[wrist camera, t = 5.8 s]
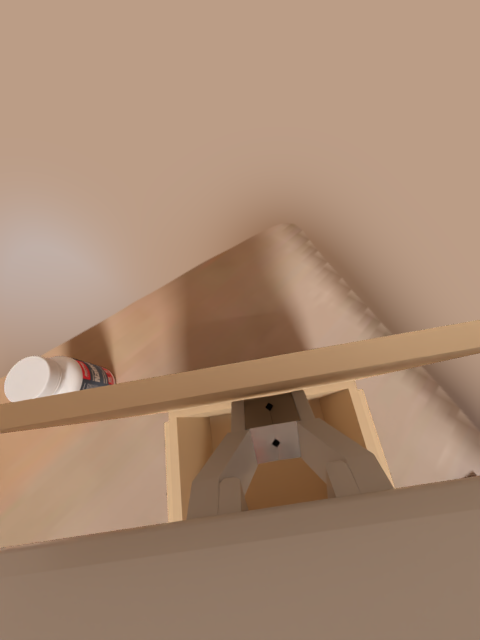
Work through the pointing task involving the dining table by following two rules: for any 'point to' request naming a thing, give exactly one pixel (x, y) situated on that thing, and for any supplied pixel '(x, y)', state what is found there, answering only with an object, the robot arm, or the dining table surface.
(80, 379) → the pill bottle
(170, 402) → the flap
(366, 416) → the carton
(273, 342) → the dining table surface
